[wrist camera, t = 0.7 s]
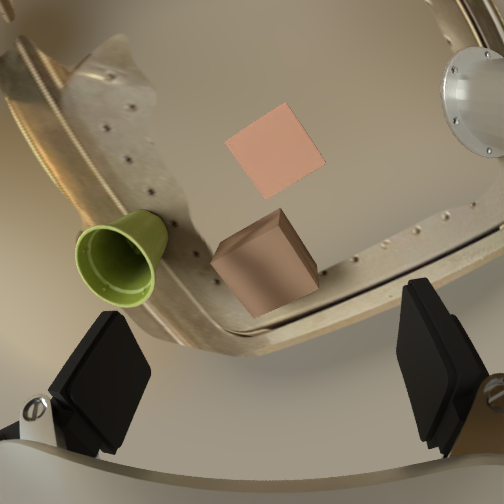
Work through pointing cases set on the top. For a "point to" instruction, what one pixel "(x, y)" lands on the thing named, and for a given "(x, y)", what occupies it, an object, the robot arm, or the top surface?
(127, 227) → the plant pot
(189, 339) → the top surface
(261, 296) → the walnut box
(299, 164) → the peach lipped block
